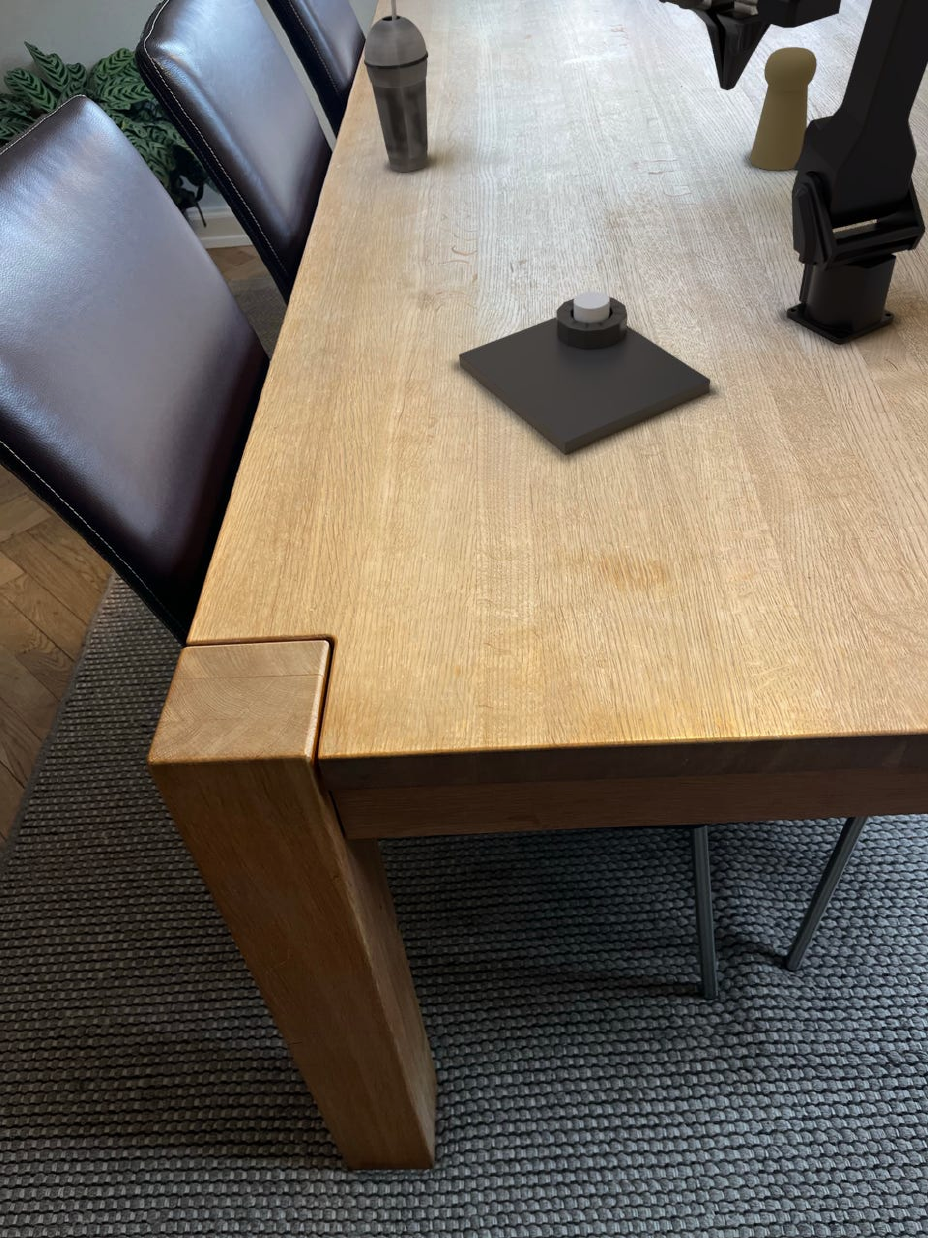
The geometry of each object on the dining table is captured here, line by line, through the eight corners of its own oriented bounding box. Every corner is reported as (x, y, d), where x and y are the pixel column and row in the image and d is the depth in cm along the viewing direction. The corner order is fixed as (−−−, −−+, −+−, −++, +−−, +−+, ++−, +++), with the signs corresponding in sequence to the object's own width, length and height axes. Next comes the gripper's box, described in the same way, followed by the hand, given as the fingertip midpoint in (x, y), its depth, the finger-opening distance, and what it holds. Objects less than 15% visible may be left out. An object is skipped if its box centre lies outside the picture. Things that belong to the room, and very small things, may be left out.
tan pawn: (806, 170, 106) (825, 58, 98) (749, 170, 107) (762, 60, 99) (804, 148, 110) (822, 39, 102) (749, 149, 111) (762, 41, 103)
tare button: (616, 317, 82) (616, 300, 81) (587, 328, 81) (587, 311, 80) (595, 303, 84) (595, 287, 83) (566, 314, 83) (566, 298, 82)
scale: (709, 392, 78) (713, 359, 76) (565, 455, 74) (564, 422, 71) (592, 314, 88) (592, 283, 86) (459, 366, 84) (456, 335, 82)
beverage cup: (367, 172, 116) (337, -24, 101) (398, 149, 120) (373, -42, 106) (420, 179, 113) (397, -21, 98) (450, 155, 117) (432, -40, 103)
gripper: (601, -113, 83) (597, 85, 94) (757, -82, 71) (731, 140, 83) (701, -137, 86) (686, 57, 97) (865, -111, 75) (826, 105, 86)
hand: (727, 88), depth 91 cm, fingers closed
